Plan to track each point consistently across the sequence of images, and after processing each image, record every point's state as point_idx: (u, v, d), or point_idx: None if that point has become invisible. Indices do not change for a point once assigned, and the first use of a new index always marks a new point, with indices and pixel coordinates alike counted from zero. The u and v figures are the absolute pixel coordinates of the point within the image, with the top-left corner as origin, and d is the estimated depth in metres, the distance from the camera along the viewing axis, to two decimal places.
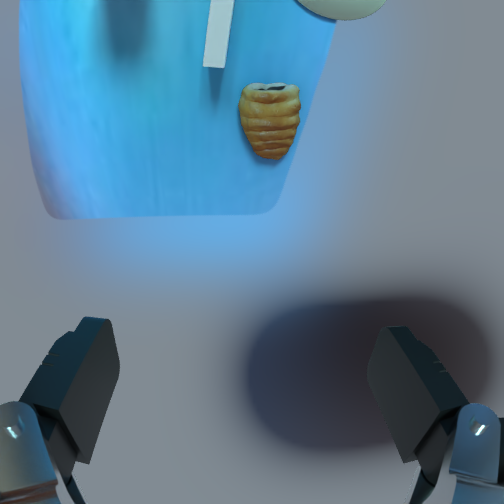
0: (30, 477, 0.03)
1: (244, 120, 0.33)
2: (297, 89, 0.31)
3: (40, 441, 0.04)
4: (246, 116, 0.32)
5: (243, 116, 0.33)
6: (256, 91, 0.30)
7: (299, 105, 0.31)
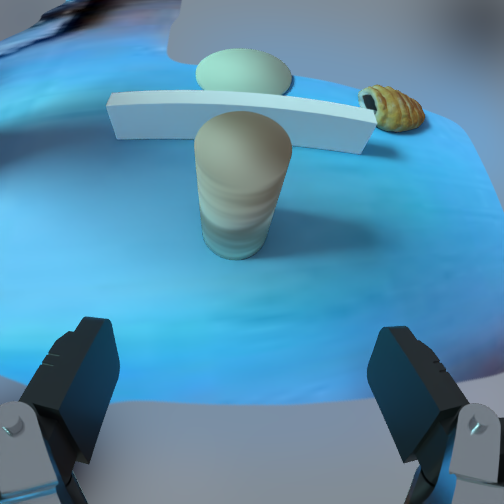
0: (30, 477, 0.03)
1: (403, 121, 0.33)
2: (361, 90, 0.35)
3: (40, 441, 0.04)
4: (400, 117, 0.33)
5: (401, 121, 0.33)
6: (378, 105, 0.32)
7: (374, 85, 0.34)
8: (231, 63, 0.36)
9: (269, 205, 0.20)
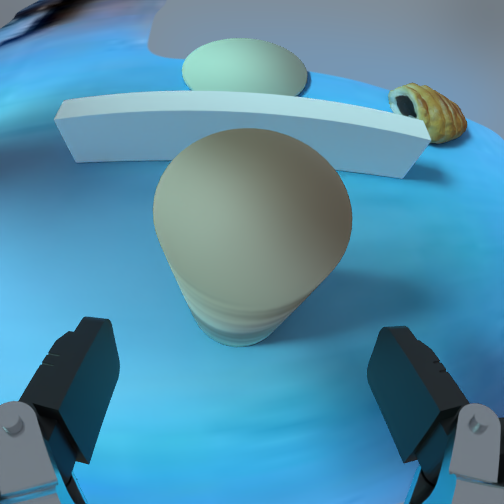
0: (30, 477, 0.03)
1: (447, 130, 0.24)
2: (392, 90, 0.27)
3: (40, 441, 0.04)
4: (444, 126, 0.24)
5: (445, 130, 0.24)
6: (418, 110, 0.23)
7: (408, 84, 0.26)
8: (228, 56, 0.27)
9: None
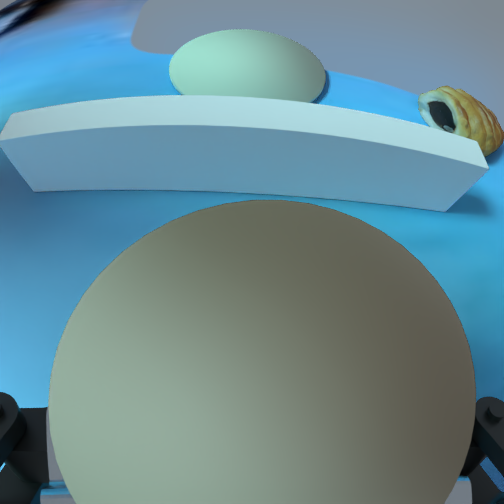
0: None
1: (488, 144, 0.19)
2: (423, 93, 0.21)
3: None
4: (485, 140, 0.19)
5: (486, 145, 0.19)
6: (459, 121, 0.18)
7: (440, 87, 0.20)
8: (227, 50, 0.22)
9: None
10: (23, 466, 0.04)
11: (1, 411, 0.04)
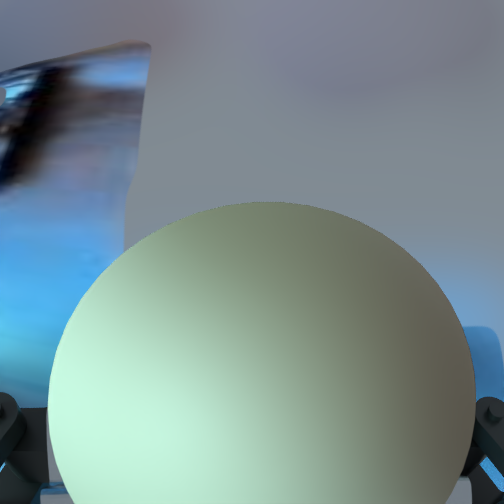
0: None
1: None
2: None
3: None
4: None
5: None
6: None
7: None
8: None
9: None
10: (23, 466, 0.04)
11: (1, 411, 0.04)
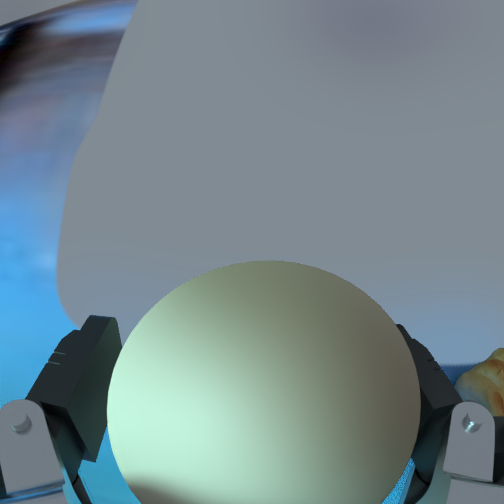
0: (37, 476, 0.03)
1: None
2: (466, 378, 0.15)
3: (48, 439, 0.04)
4: None
5: None
6: None
7: (492, 364, 0.14)
8: None
9: None
10: None
11: None
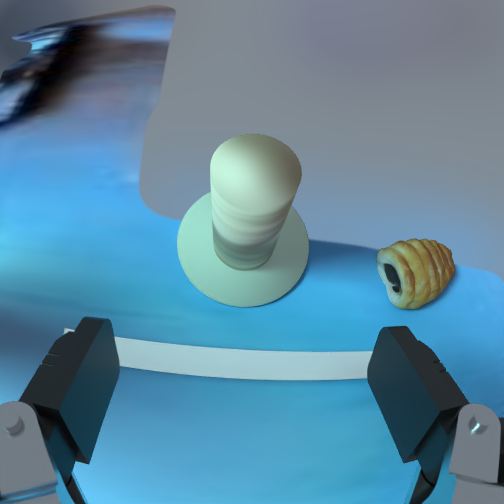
0: (30, 477, 0.03)
1: (432, 296, 0.27)
2: (382, 250, 0.29)
3: (40, 441, 0.04)
4: (429, 294, 0.27)
5: (429, 298, 0.27)
6: (404, 290, 0.26)
7: (399, 242, 0.28)
8: None
9: (278, 224, 0.21)
10: None
11: None
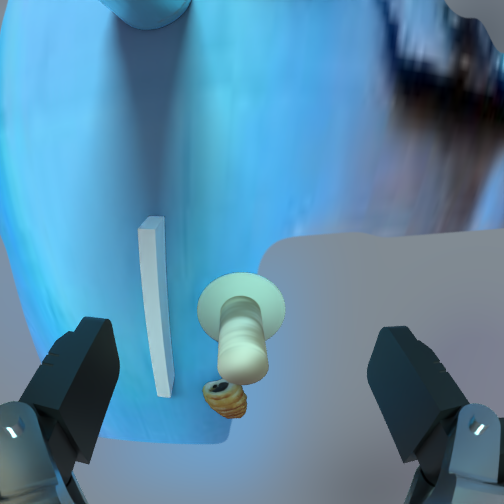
0: (30, 477, 0.03)
1: (209, 405, 0.48)
2: None
3: (40, 441, 0.04)
4: (209, 404, 0.48)
5: (208, 403, 0.48)
6: (209, 394, 0.46)
7: (241, 393, 0.47)
8: None
9: None
10: None
11: None
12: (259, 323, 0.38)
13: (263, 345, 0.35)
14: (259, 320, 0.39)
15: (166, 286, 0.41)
